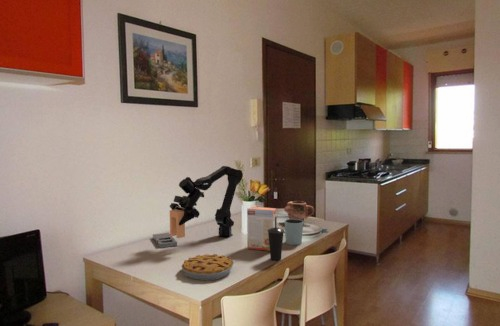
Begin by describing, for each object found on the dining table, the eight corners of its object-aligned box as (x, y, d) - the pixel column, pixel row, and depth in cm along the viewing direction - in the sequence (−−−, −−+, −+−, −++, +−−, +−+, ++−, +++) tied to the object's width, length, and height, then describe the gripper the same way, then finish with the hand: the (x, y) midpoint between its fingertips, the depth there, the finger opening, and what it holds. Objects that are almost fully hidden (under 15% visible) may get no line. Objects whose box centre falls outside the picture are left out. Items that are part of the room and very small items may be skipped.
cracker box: (277, 248, 187) (277, 207, 185) (273, 251, 181) (273, 210, 179) (251, 245, 192) (251, 206, 190) (247, 248, 186) (246, 208, 185)
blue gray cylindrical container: (292, 239, 203) (292, 217, 202) (307, 242, 196) (307, 220, 195) (280, 242, 196) (280, 220, 195) (295, 246, 189) (295, 224, 188)
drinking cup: (266, 256, 174) (266, 215, 172) (282, 256, 175) (282, 214, 173) (268, 262, 166) (268, 218, 165) (285, 261, 167) (285, 218, 165)
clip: (170, 235, 186) (169, 210, 185) (176, 234, 189) (176, 209, 188) (178, 238, 181) (177, 212, 180) (185, 236, 184) (184, 211, 183)
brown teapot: (315, 221, 242) (315, 201, 241) (313, 226, 231) (313, 204, 230) (286, 219, 248) (286, 199, 247) (282, 224, 237) (282, 202, 236)
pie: (240, 265, 163) (240, 254, 163) (222, 285, 142) (222, 272, 142) (196, 260, 170) (195, 250, 169) (172, 278, 149) (171, 266, 148)
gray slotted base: (152, 238, 206) (152, 234, 206) (168, 236, 210) (168, 232, 210) (159, 248, 188) (159, 244, 188) (177, 245, 192) (176, 241, 192)
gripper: (172, 187, 193) (154, 211, 185) (194, 191, 180) (176, 217, 173) (184, 200, 199) (167, 224, 192) (207, 204, 186) (190, 230, 179)
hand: (174, 223), depth 184 cm, fingers closed on clip, 7 cm apart
